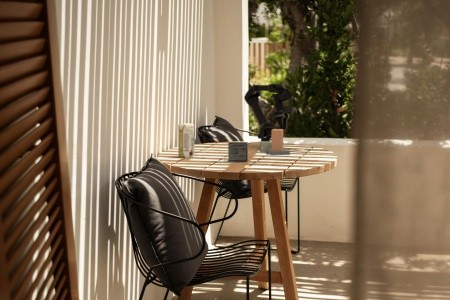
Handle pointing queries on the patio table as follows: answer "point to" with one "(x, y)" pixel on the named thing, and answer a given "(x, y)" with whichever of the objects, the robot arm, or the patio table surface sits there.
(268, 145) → the sage cube
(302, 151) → the card
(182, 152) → the juice carton
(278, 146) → the terracotta block
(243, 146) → the small box
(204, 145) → the patio table surface
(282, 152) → the slate base block
